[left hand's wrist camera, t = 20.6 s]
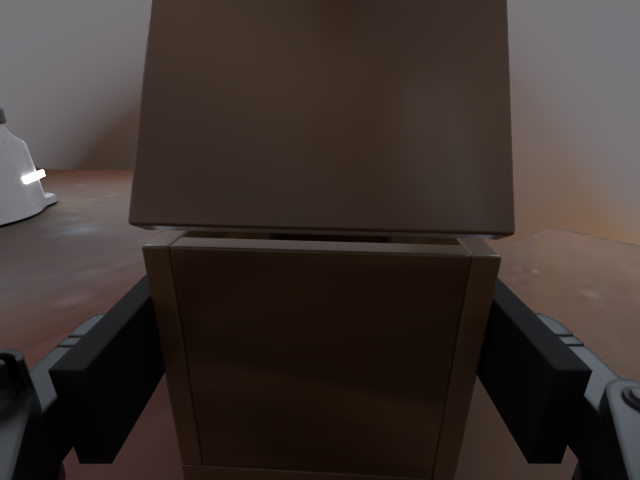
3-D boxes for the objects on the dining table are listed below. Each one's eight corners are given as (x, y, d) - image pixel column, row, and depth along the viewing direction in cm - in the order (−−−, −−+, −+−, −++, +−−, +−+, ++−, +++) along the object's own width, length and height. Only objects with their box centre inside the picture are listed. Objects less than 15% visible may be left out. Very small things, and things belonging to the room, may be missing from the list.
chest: (271, 269, 29) (266, 155, 26) (388, 273, 29) (398, 158, 25) (184, 480, 13) (139, 245, 10) (451, 496, 12) (503, 256, 9)
